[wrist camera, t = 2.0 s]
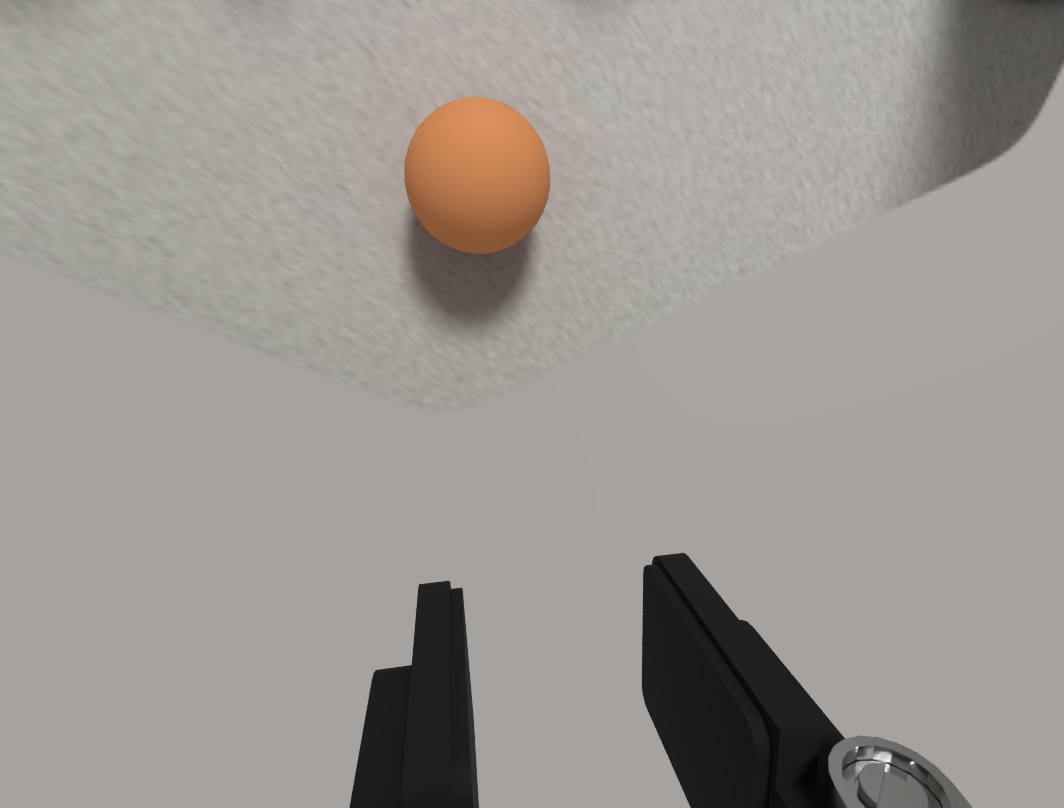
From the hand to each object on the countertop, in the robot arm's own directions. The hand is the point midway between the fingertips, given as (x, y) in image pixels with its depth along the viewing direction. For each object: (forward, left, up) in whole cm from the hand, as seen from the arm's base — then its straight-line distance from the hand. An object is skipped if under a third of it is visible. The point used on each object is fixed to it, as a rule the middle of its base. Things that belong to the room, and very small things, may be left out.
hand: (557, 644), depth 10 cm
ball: (0, -10, -15) cm, 17 cm away
